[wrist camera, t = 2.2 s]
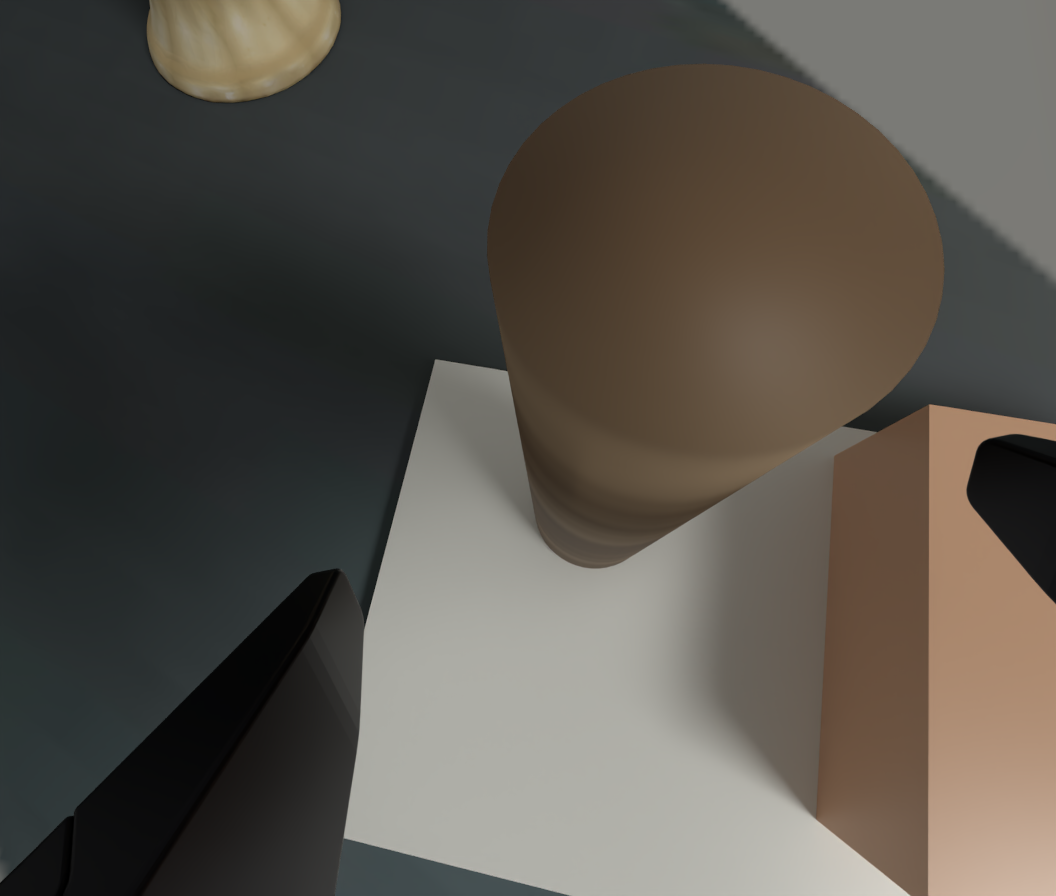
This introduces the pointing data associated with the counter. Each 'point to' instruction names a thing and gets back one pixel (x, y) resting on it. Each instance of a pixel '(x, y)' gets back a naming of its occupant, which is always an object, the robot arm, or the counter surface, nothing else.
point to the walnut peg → (698, 293)
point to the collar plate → (712, 677)
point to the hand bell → (239, 44)
